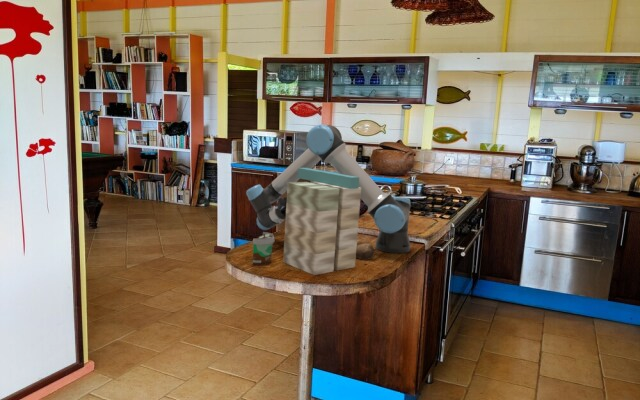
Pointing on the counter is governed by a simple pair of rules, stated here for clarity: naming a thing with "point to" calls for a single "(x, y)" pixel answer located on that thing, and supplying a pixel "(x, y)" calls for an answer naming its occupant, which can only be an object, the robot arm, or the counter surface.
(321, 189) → the block stand
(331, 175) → the beam
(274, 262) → the counter surface
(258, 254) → the food container
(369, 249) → the mushroom
